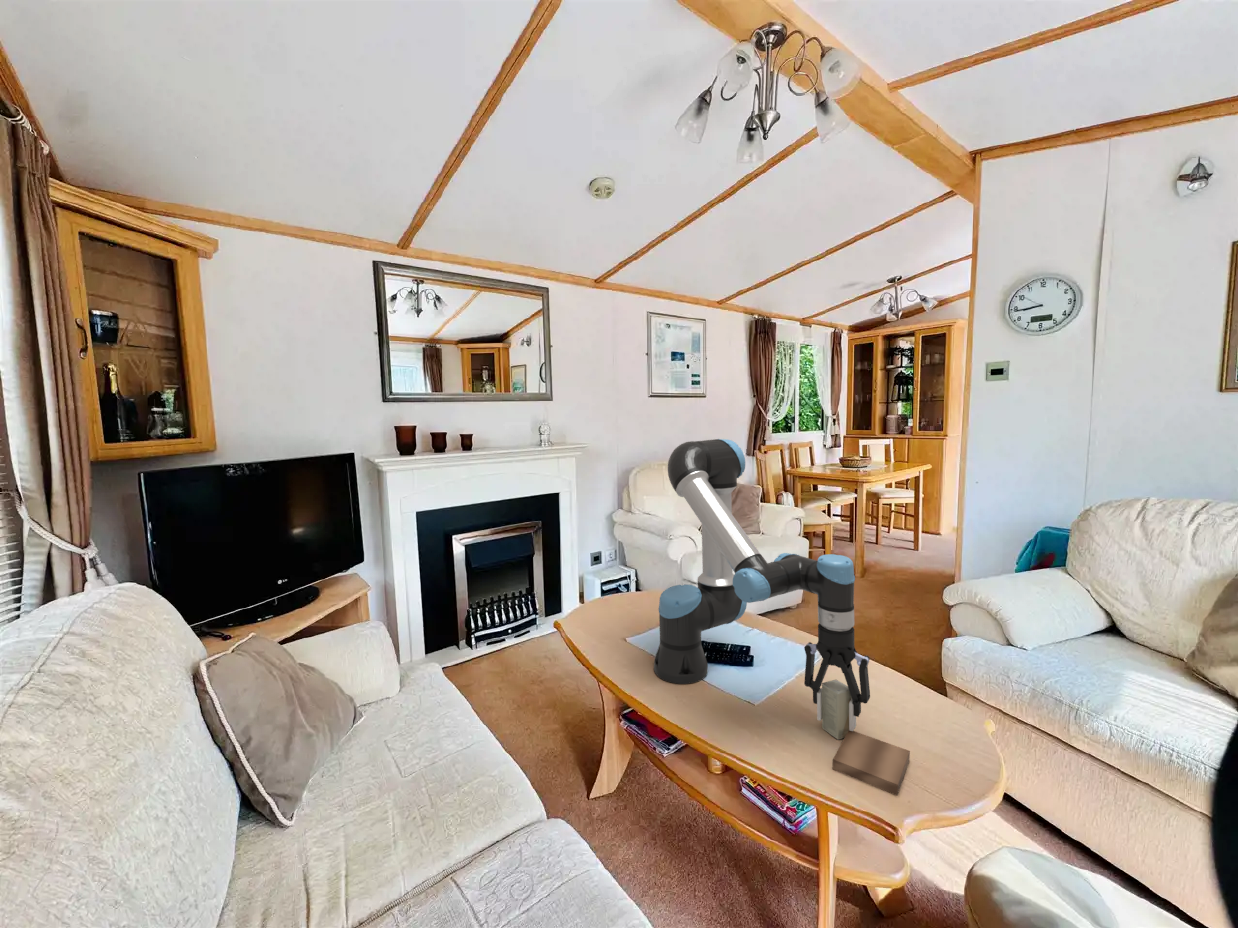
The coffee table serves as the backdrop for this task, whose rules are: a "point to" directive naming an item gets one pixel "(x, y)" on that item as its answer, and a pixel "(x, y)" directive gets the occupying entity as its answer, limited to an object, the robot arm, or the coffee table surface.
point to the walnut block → (872, 761)
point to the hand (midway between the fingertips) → (836, 722)
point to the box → (835, 708)
